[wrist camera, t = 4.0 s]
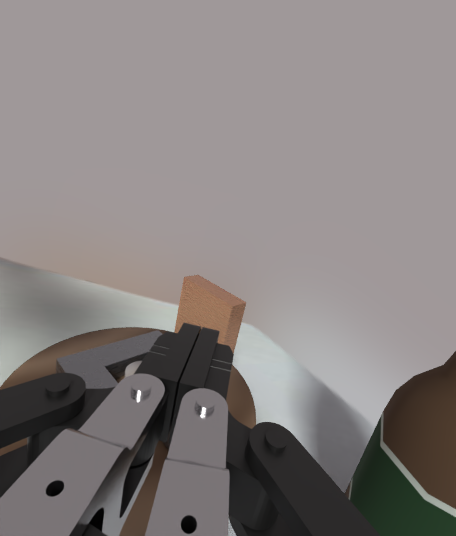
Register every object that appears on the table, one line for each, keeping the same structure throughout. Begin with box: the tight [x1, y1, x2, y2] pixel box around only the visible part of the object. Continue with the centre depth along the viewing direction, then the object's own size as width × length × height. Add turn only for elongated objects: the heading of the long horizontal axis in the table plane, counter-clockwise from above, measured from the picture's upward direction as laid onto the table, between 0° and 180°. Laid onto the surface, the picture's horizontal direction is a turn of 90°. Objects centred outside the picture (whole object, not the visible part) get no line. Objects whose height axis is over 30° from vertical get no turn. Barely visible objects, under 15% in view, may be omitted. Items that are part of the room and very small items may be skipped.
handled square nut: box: [56, 275, 246, 450], centre depth 26 cm, size 17×11×14 cm
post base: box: [0, 327, 256, 536], centre depth 29 cm, size 24×24×6 cm
